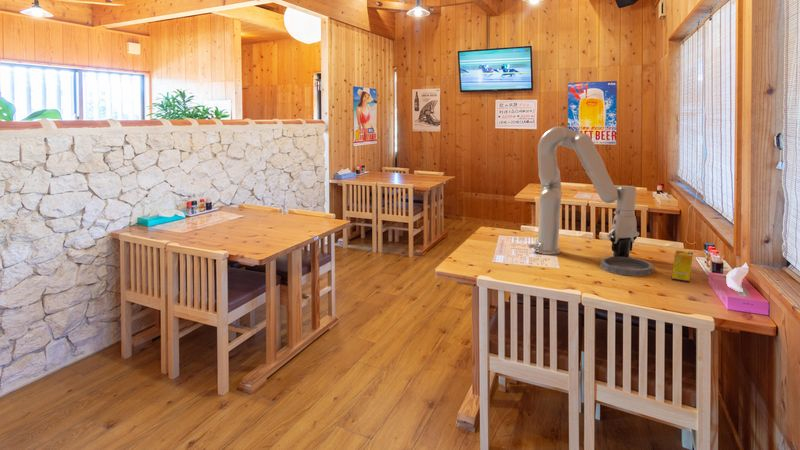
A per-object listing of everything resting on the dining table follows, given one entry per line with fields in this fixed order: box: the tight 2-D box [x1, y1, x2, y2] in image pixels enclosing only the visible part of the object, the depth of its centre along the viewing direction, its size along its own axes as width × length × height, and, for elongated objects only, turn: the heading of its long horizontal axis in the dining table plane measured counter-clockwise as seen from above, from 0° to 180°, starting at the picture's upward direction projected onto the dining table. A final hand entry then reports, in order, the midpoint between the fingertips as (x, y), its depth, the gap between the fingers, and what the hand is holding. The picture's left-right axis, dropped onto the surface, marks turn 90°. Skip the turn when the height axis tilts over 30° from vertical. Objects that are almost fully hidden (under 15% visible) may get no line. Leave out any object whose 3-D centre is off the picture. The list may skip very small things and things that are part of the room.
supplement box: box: [671, 250, 694, 284], centre depth 182 cm, size 6×6×11 cm
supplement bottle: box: [612, 238, 631, 257], centre depth 213 cm, size 7×7×12 cm
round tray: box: [599, 256, 654, 277], centre depth 197 cm, size 20×20×2 cm
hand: (621, 250), depth 214 cm, fingers closed on supplement bottle, 6 cm apart
